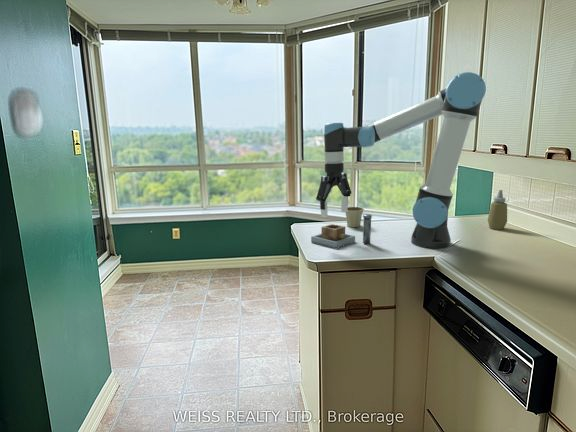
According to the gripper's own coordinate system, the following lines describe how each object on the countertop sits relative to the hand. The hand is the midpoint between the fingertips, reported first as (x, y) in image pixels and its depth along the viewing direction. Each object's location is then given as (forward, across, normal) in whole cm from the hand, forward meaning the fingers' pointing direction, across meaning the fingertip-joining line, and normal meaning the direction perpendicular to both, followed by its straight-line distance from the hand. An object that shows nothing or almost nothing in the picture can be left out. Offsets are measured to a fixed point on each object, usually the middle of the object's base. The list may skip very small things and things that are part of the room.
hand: (334, 214), depth 159 cm
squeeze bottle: (+14, -68, +42) cm, 81 cm away
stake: (+12, -7, +11) cm, 18 cm away
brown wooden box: (+11, 0, -1) cm, 11 cm away
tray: (+12, 0, -1) cm, 12 cm away
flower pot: (+12, -28, -10) cm, 32 cm away
